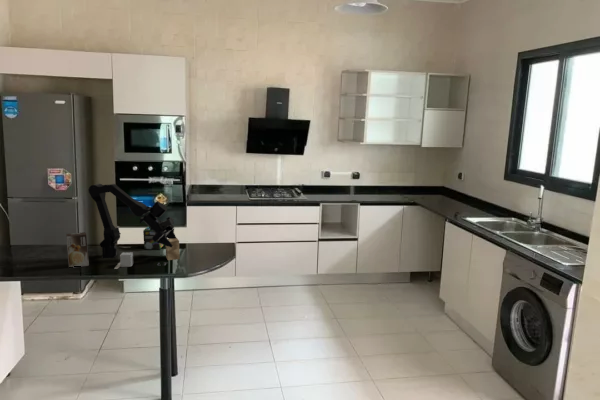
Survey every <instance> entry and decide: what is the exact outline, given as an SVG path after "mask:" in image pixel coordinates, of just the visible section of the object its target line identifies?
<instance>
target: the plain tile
mask: <svg viewBox="0 0 600 400" xmlns="http://www.w3.org/2000/svg"><path fill="white" fill-rule="evenodd" d="M120 267H121V266H120V262H118V263H117V265H115V267H114V270H115V269H116V270H117V269H119V268H120Z"/></svg>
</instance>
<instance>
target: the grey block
mask: <svg viewBox="0 0 600 400" xmlns="http://www.w3.org/2000/svg"><path fill="white" fill-rule="evenodd" d="M119 259H120V261H119V263H120V267H121V268H129V267H132V266H133V265H134V252H131V251H130V252H121V254H120V255H119Z"/></svg>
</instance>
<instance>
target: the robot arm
mask: <svg viewBox="0 0 600 400" xmlns="http://www.w3.org/2000/svg"><path fill="white" fill-rule="evenodd" d="M88 193H89V196H90V198H91V199H92V200H93V201H94V202H95V204H96V208H97V211H98V213H99V217H100V219H101V223H102V226H103V240H102V241H101V242H99V245H100V247H101V249H102V251H101V252H102V256H101V259H115V257H117V255H118V247H117V243H118V241H119V240H120V239H121V232H120V228H119V227H118V226H117V227H116V226H114V223H113V220H112V217H111V214H110V211H109V207H108V205H107V201H106V195H107V194H106V193H111V194H112V195H113V196H115V197H116V198H118V200H120V201H121V202H122V203H123V204H125V205H126V206H127V207H129V210H130V212H132V213H133V215H134V216H135V217H140V218H139V224H142V223H145V224H146V225H147V227H150V228H151V229H150V230H151V231H152V230H153V231H154V232H155V233H156V234H155V235H154V236H153V237H152V240H153V241H154V242H156V241H157V243H160V244H163V245H164V246H165V247H166V246H169V247H172V246H173V245H172V244H171V243H170V241H169V240H168V239H174V238H177V236H176V234H175V226H174V225H173V224H175V222H174V220H175V219H174V218H173V217H171V216H168V217H166V219H165V220H164V221H163V220H162V219H158V218H161V217H162V216H163V215H164V214H165V213H166V211H168V208H167V206H166V205H165V204H163V203H162V202H160V201H157V200H156V202H155V203H154V204H153V205H152V206H147V205H146V204H145V203H143V202H141V201H139V200H136V199H135V198H133V197H132V196H131V195H130V194H128V193H127V192H125V191H124V190H123V189H122V188H121V187H119V186H118V185H117V184H116V183H111V184H103V183H95V184H91V185H90V186H89V187H88ZM141 216H142V217H141Z"/></svg>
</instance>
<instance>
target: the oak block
mask: <svg viewBox="0 0 600 400" xmlns="http://www.w3.org/2000/svg"><path fill="white" fill-rule="evenodd" d="M167 239H168V238H167ZM168 240H169V241H170V243H171V244H172V245H173V246H172V247H169V246H166V245H165V258H166V259H167V261H174V260H180V259H181V258H180V239H178V238H177V237H176V238H174V239H168Z"/></svg>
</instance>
